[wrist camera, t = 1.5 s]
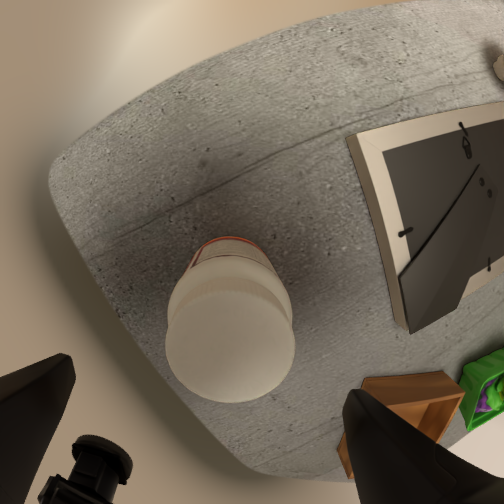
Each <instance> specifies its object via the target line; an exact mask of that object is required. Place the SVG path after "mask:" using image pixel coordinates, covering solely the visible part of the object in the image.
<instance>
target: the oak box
mask: <svg viewBox="0 0 504 504" xmlns="http://www.w3.org/2000/svg"><path fill="white" fill-rule="evenodd" d="M361 389H363V390H365V391H366V392H368V393H369V394H370V395H372V396H373V397H374V398H376V399H377V400H378V401H380V402H381V403H382V404H384V405H385V406H386V407H388V408H389V409H390V410H392V411H393V412H395V413H396V414H397V415H399V416H400V417H401V418H403V419H404V420H406V421H407V422H408V423H410V424H411V425H412V426H414V427H415V428H417V429H418V430H419V431H421V432H422V433H424V434H425V435H427V436H428V437H429V438H431V439H432V440H434V441H435V442H436V443H439V441H440V440H441V438H442V436H443V435H444V433H445V431H446V429H447V427H448V426H449V424H450V422H451V420H452V418H453V416H454V415H455V413H456V411H457V409H458V407H459V405H460V403H461V401H462V399H463V397H464V395H465V391H464V390H463V389H462V388H461V387H460V386H459V385H458V384H457V383H455V382H454V381H453V380H452V379H451V378H450V377H449V376H448V375H447V374H446V373H445V372H444V371H438V372H430V373H422V374H412V375H401V376H389V377H373V378H365V379H364V381H363V384H362V387H361ZM337 452H338V455H339V457H340V460H341V462H342V465H343V467H344V469H345V472H346V474H347V477H348V479H352V478H354V475H353V471H352V467H351V463H350V459H349V455H348V451H347V444H346V436H345V432H344V435H343V437H342V439H341V442H340V444H339V446H338V449H337Z"/></svg>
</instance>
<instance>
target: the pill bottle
mask: <svg viewBox="0 0 504 504" xmlns="http://www.w3.org/2000/svg"><path fill="white" fill-rule="evenodd" d="M168 326H169V327H168V330H167V333H166V338H165V350H166V357H167V360H168V363H169V366H170V368H171V370H172V371H173V373H174V375H175V376H176V377H177V378H178V380H179V381H180V382H181V383H182V384H183V385H184V386H185V387H187V388H188V389H189V390H190V391H192V392H194V393H195V394H197V395H199V396H201V397H204V398H206V399H210V400H213V401H217V402H224V403H238V402H245V401H249V400H253V399H256V398H258V397H261V396H263V395H265V394H266V393H268V392H270V391H271V390H273V389H274V388H275V387H276V386H278V385H279V384H280V383H281V381H282V380H283V379H284V378H285V377H286V375H287V373H288V372H289V370H290V368H291V366H292V363H293V360H294V355H295V337H294V333H293V330H292V307H291V303H290V299H289V296H288V293H287V291H286V289H285V287H284V286H283V284H282V282H281V280H280V279H279V277H278V275H277V273H276V271H275V270H274V268H273V266H272V264H271V263H270V261H269V259H268V257H267V256H266V255H265V253H264V252H263V251H262V250H261V249H260V248H259V247H258V246H257V245H255V244H254V243H252V242H251V241H249V240H246V239H244V238H240V237H234V236H225V237H219V238H216V239H213V240H211V241H209V242H207V243H206V244H204V245H203V246H202V247H201V248H200V249H199V250H198V251H197V252H196V253H195V254H194V256H193V257H192V259H191V260H190V262H189V264H188V266H187V268H186V270H185V271H184V273H183V275H182V277H181V278H180V280H179V281H178V283H177V284H176V286H175V288H174V290H173V292H172V295H171V297H170V301H169V305H168Z"/></svg>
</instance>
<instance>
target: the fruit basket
mask: <svg viewBox="0 0 504 504" xmlns="http://www.w3.org/2000/svg"><path fill="white" fill-rule="evenodd" d="M459 386H460V387H461V388H462V389H463V390H464V391H465V395H464V397H463V399H462V401H461V403H460V405H459V408H460V411H461V413H462V415H463V418H464V420H465V425H466V428H467V431H471V430H473V429H475V428H477V427H479V426H480V425H482V424H484V423H486V422H487V421H489V420H491V419H492V418H494V417H495V416H497V415H499V414H501V413H502V412H504V347H503V348H502V349H499V350H497V351H495V352H492V353H491V354H490V355H486V356H484V357H482V358H480V359H478V360H477V361H476V362H471V363H468V364H466V365H465V366H464V367H463V374H462V376H461V380H460V383H459Z"/></svg>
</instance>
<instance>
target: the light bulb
mask: <svg viewBox="0 0 504 504" xmlns="http://www.w3.org/2000/svg"><path fill="white" fill-rule="evenodd" d="M493 67H494V71H495V73H496V75H497V76H498V78H499V79H500V80H502V81H504V54H503V55H501V56H499V57H498V59H497V61H496V62H494V64H493Z"/></svg>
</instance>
